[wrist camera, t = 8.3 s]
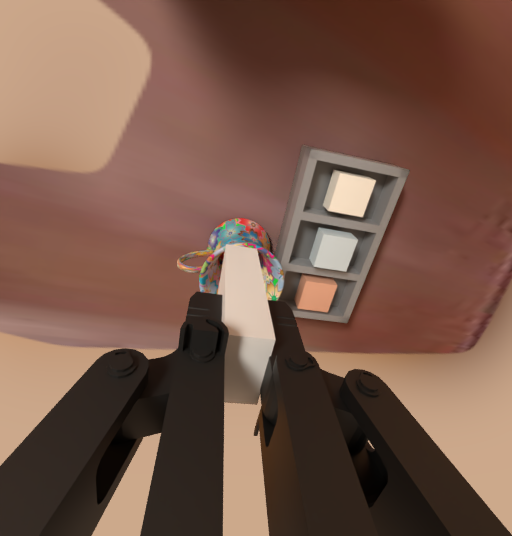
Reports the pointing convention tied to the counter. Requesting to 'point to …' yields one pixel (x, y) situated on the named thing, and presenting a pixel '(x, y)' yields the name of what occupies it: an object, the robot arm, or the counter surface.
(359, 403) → the robot arm
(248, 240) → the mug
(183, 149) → the counter surface
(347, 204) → the key
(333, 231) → the key middle
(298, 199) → the grey compartment tray
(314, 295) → the key
